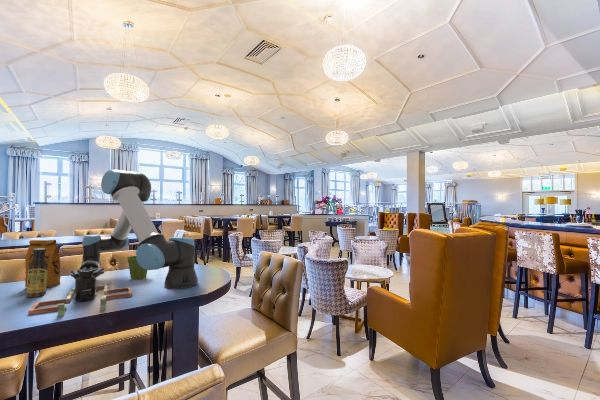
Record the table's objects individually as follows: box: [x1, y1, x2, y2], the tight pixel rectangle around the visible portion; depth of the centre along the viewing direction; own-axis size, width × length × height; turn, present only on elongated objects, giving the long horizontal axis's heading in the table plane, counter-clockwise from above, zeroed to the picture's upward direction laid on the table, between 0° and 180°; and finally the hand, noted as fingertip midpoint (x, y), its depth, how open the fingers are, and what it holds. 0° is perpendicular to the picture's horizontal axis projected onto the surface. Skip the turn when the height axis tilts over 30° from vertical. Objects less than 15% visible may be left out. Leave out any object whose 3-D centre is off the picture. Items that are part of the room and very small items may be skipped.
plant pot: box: [125, 255, 149, 281], centre depth 155 cm, size 12×12×11 cm
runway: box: [28, 284, 133, 318], centre depth 119 cm, size 32×32×4 cm
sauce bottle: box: [26, 248, 48, 298], centre depth 125 cm, size 6×6×20 cm
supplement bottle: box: [74, 269, 97, 303], centre depth 120 cm, size 7×7×12 cm
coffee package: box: [24, 239, 62, 288], centre depth 140 cm, size 10×12×22 cm
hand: (84, 279), depth 123 cm, fingers closed
